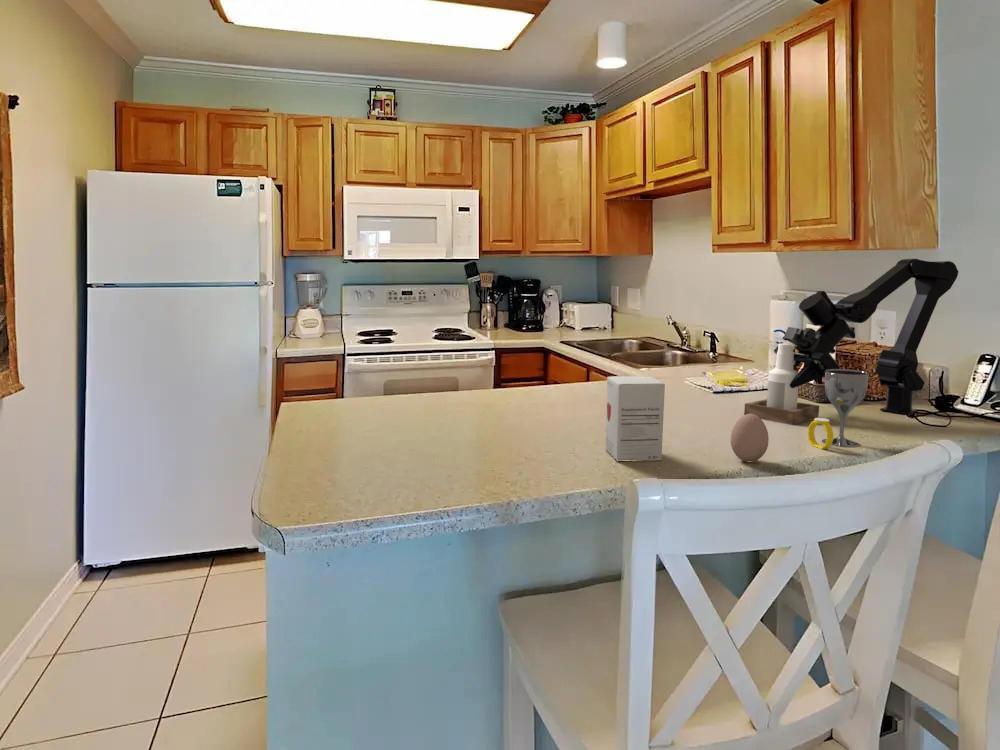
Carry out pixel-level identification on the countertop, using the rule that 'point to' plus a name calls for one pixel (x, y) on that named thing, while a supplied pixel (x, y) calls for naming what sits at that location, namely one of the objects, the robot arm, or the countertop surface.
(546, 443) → the countertop surface
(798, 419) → the collar
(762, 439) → the egg
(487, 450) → the countertop surface
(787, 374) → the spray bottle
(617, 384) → the supplement box
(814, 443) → the watch
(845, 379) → the wine glass
